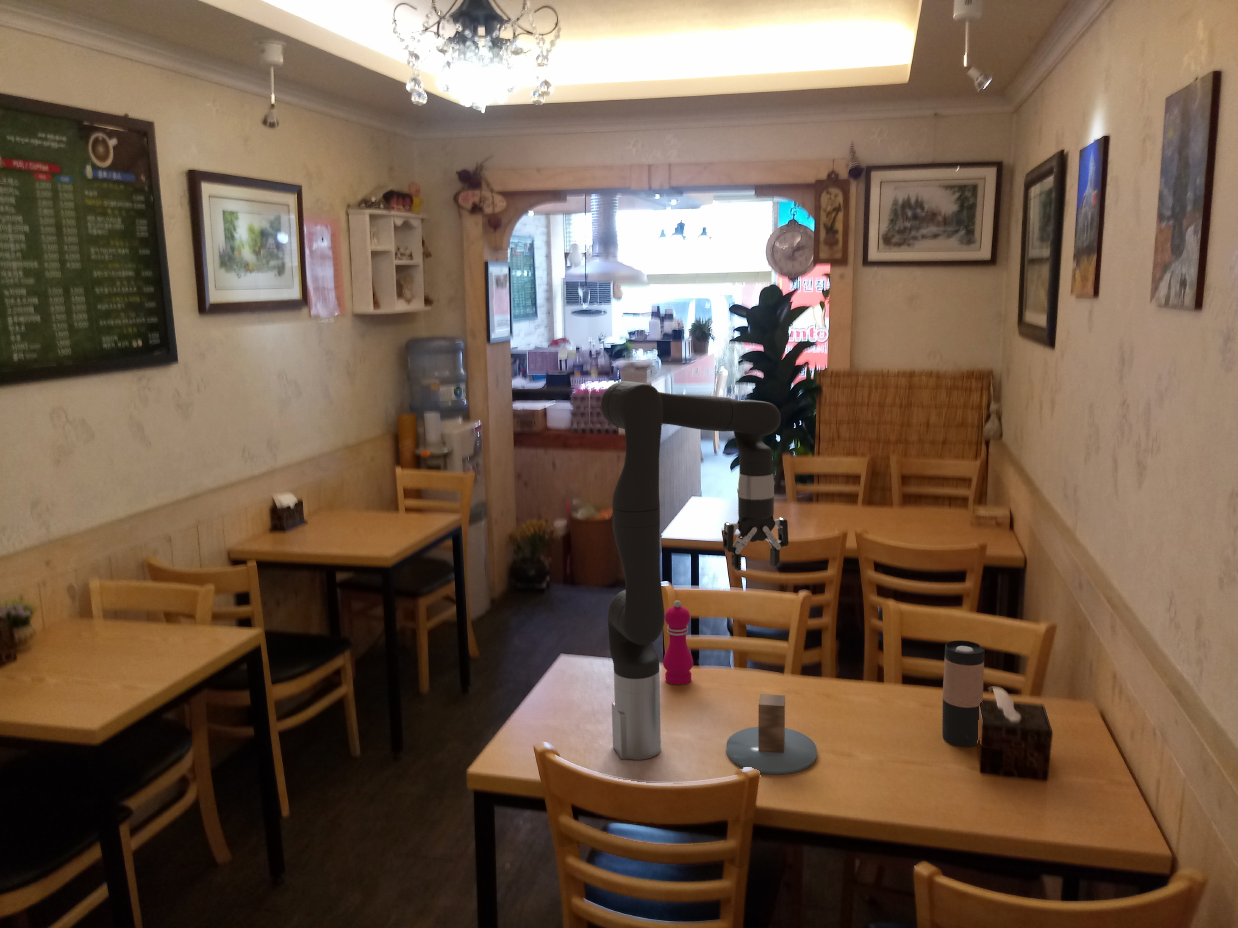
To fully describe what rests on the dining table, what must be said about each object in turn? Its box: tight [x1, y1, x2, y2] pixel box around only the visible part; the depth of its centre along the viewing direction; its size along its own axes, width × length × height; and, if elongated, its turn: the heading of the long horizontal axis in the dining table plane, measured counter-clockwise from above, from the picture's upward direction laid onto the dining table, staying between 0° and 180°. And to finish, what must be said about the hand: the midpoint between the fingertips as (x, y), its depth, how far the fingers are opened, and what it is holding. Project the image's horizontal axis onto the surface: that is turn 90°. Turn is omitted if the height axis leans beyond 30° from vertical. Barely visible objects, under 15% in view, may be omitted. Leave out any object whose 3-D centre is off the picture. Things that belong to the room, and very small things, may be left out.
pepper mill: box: [662, 600, 694, 685], centre depth 223 cm, size 7×7×20 cm
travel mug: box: [941, 639, 986, 748], centre depth 190 cm, size 8×8×20 cm
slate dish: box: [725, 726, 818, 775], centre depth 188 cm, size 18×18×1 cm
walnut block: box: [757, 693, 786, 753], centre depth 187 cm, size 5×5×10 cm
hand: (755, 567), depth 201 cm, fingers open, 8 cm apart
